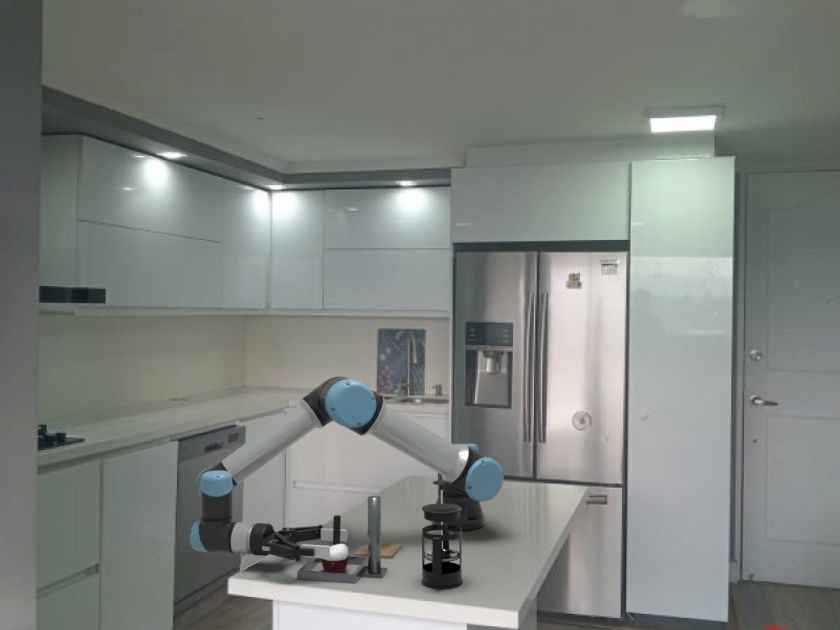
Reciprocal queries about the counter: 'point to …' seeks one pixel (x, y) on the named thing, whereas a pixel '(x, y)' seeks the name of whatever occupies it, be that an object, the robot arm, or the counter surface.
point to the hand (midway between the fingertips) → (338, 543)
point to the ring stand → (368, 564)
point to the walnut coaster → (386, 550)
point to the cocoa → (336, 551)
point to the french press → (441, 545)
